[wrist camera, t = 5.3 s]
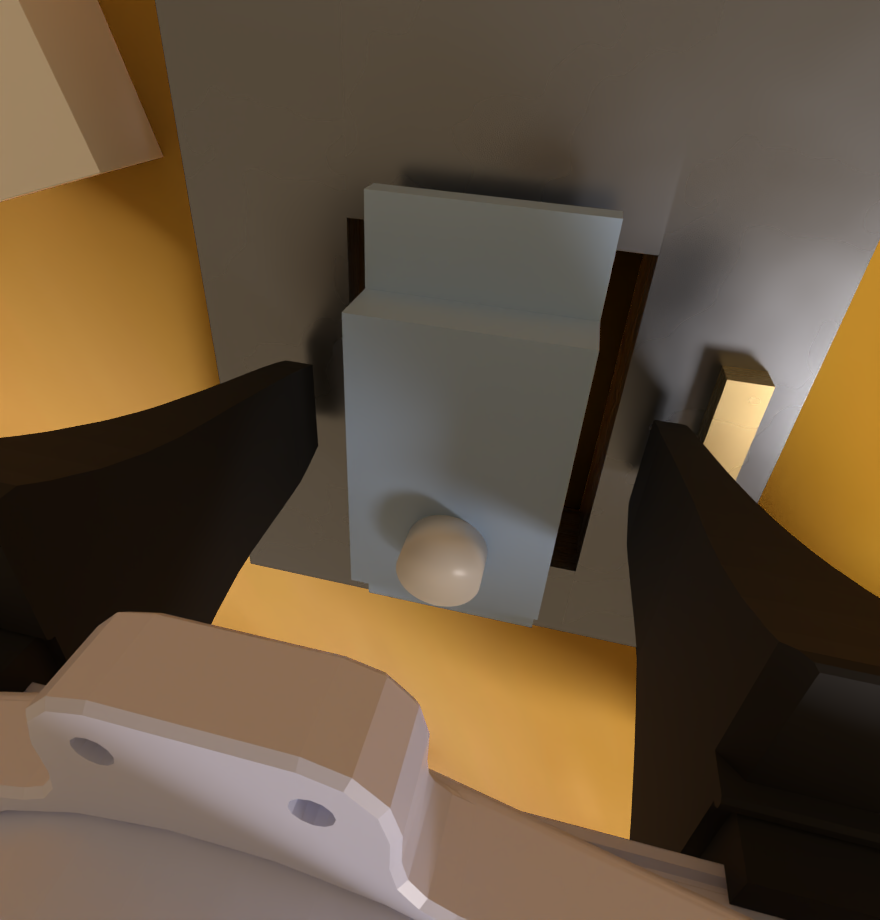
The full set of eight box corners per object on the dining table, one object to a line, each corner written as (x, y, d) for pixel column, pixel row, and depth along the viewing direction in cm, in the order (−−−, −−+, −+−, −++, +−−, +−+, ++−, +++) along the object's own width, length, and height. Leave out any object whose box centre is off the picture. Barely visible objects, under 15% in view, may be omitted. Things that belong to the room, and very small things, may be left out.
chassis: (933, -37, 9) (1044, -64, 7) (677, 589, 17) (687, 677, 15) (219, -72, 11) (113, -102, 9) (286, 511, 19) (240, 578, 17)
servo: (619, 173, 12) (626, 256, 7) (545, 523, 17) (522, 699, 13) (423, 152, 13) (315, 217, 8) (410, 497, 18) (340, 657, 13)
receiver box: (89, -39, 12) (-8, -55, 10) (169, 155, 14) (101, 173, 12) (-81, 32, 14) (-193, 30, 12) (12, 199, 16) (-72, 220, 14)
